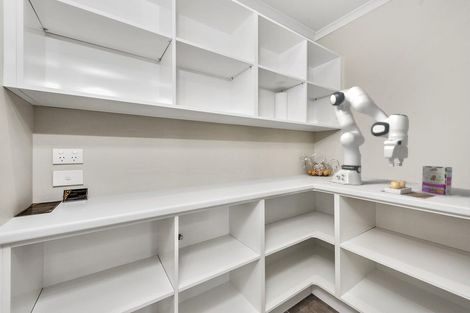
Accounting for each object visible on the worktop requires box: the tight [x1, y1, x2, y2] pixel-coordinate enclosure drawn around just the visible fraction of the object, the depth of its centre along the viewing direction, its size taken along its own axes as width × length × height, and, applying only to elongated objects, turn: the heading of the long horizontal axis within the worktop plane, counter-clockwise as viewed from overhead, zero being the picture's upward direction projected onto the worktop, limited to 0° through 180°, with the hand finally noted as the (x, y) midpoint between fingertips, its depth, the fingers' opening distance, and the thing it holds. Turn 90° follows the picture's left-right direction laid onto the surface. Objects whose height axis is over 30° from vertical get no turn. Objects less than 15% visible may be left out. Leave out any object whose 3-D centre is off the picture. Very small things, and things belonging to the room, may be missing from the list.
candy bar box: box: [421, 165, 453, 196], centre depth 111 cm, size 11×5×16 cm, turn 13°
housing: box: [384, 180, 413, 195], centre depth 112 cm, size 8×14×6 cm, turn 118°
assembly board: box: [381, 189, 436, 200], centre depth 109 cm, size 20×15×1 cm
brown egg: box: [390, 180, 400, 189], centre depth 111 cm, size 4×4×6 cm
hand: (395, 166), depth 111 cm, fingers open, 8 cm apart
